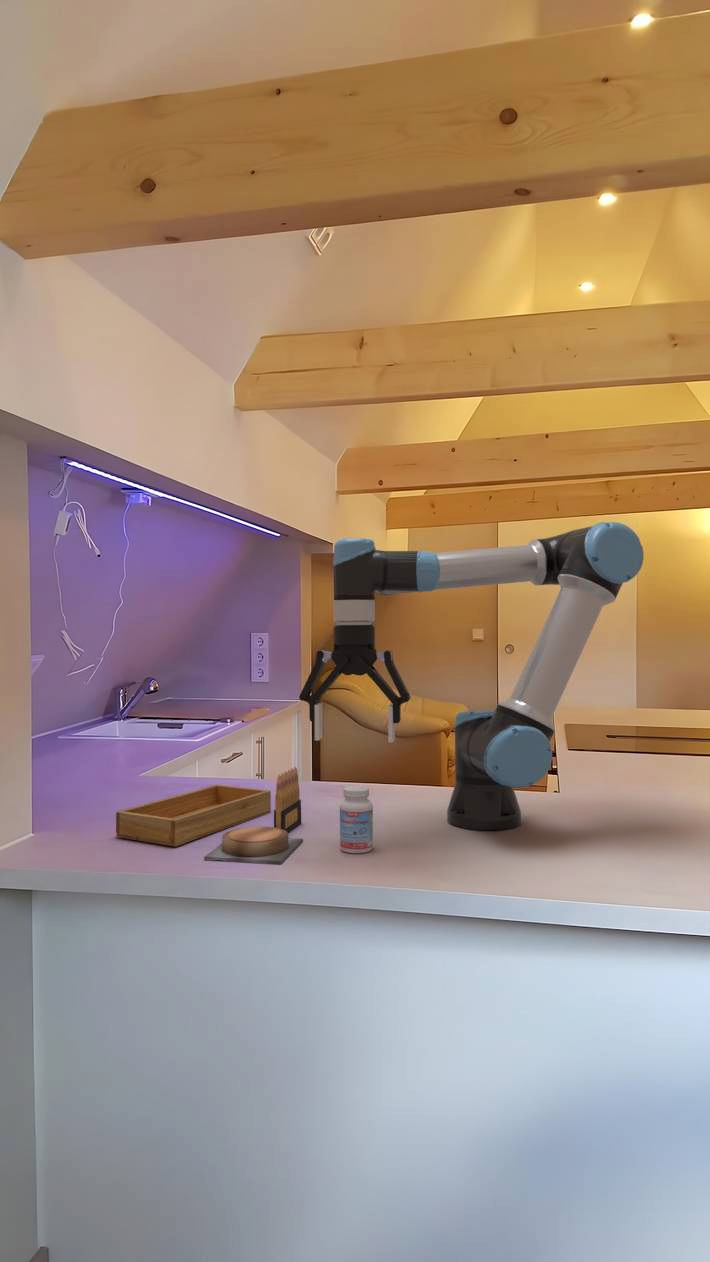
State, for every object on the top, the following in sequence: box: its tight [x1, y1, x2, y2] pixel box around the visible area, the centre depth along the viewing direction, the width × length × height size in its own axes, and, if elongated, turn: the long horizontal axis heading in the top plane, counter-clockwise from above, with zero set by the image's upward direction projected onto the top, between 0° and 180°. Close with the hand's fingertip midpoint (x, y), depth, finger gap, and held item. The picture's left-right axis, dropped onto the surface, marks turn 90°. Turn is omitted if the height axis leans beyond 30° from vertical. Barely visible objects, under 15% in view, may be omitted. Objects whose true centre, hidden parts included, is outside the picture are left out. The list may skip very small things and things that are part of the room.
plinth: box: [203, 826, 304, 865], centre depth 142 cm, size 14×14×3 cm
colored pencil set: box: [273, 766, 302, 834], centre depth 156 cm, size 11×2×12 cm, turn 164°
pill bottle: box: [339, 785, 374, 854], centre depth 142 cm, size 6×6×11 cm
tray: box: [115, 784, 272, 847], centre depth 160 cm, size 31×15×6 cm, turn 151°
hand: (354, 740), depth 142 cm, fingers open, 13 cm apart
